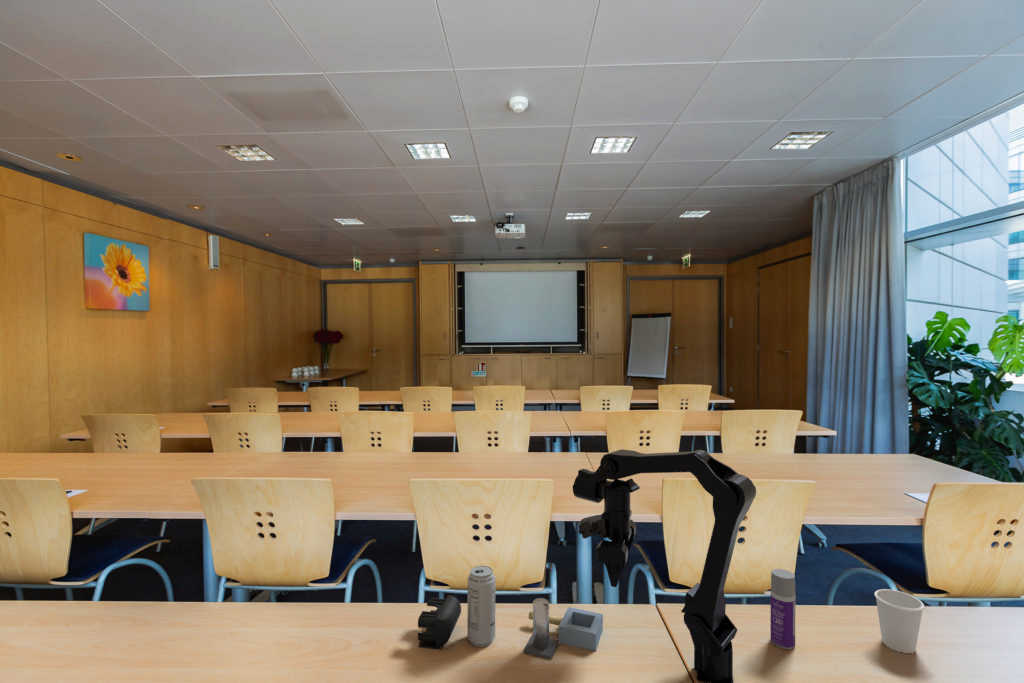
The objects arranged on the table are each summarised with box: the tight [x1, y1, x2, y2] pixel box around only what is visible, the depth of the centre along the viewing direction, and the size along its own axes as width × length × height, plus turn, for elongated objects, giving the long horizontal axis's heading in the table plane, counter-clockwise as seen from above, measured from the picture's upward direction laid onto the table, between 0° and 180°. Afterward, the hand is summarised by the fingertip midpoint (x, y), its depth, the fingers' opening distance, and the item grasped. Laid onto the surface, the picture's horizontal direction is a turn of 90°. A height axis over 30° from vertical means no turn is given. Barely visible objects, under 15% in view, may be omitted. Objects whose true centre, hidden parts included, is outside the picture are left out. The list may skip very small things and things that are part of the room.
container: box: [770, 568, 797, 651], centre depth 106 cm, size 5×5×15 cm
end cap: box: [417, 594, 462, 650], centre depth 108 cm, size 10×7×7 cm
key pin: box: [532, 597, 550, 650], centre depth 104 cm, size 3×3×9 cm
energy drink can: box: [466, 565, 496, 648], centre depth 107 cm, size 6×6×15 cm
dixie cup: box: [874, 588, 925, 654], centre depth 105 cm, size 8×8×10 cm
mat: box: [522, 633, 560, 660], centre depth 104 cm, size 6×6×1 cm
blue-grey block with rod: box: [528, 606, 604, 652], centre depth 110 cm, size 16×8×4 cm, turn 69°
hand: (617, 576), depth 110 cm, fingers open, 9 cm apart
